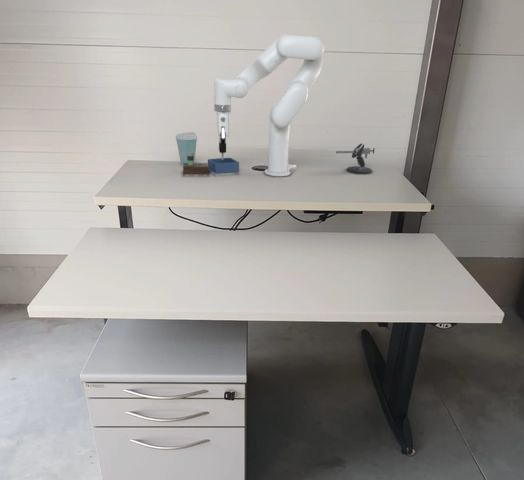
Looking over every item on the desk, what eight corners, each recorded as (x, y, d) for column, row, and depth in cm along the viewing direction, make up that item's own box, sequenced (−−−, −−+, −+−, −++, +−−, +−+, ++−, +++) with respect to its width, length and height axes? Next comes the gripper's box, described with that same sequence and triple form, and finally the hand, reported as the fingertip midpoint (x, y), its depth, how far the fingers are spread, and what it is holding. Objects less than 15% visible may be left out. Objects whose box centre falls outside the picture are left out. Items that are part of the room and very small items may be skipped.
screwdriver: (219, 159, 240) (219, 139, 235) (225, 159, 241) (225, 139, 236) (219, 160, 238) (219, 140, 233) (225, 160, 238) (225, 140, 233)
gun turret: (331, 168, 257) (333, 141, 250) (367, 167, 261) (370, 141, 254) (339, 174, 247) (342, 146, 240) (376, 173, 251) (381, 146, 244)
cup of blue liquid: (181, 168, 247) (179, 135, 239) (173, 163, 255) (171, 131, 247) (201, 166, 251) (200, 134, 243) (193, 162, 259) (191, 130, 251)
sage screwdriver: (188, 171, 237) (187, 151, 232) (194, 171, 238) (193, 151, 233) (187, 173, 235) (187, 153, 230) (194, 173, 235) (193, 153, 230)
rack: (183, 172, 239) (183, 162, 237) (207, 172, 241) (207, 163, 238) (183, 176, 233) (183, 166, 231) (208, 176, 235) (207, 166, 232)
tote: (230, 169, 248) (230, 157, 246) (238, 174, 241) (238, 162, 238) (207, 170, 244) (207, 159, 241) (215, 175, 236) (215, 163, 233)
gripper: (231, 111, 221) (231, 155, 231) (229, 106, 234) (229, 148, 244) (214, 111, 220) (215, 155, 230) (213, 106, 233) (214, 147, 243)
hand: (222, 151), depth 237 cm, fingers closed on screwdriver, 3 cm apart
